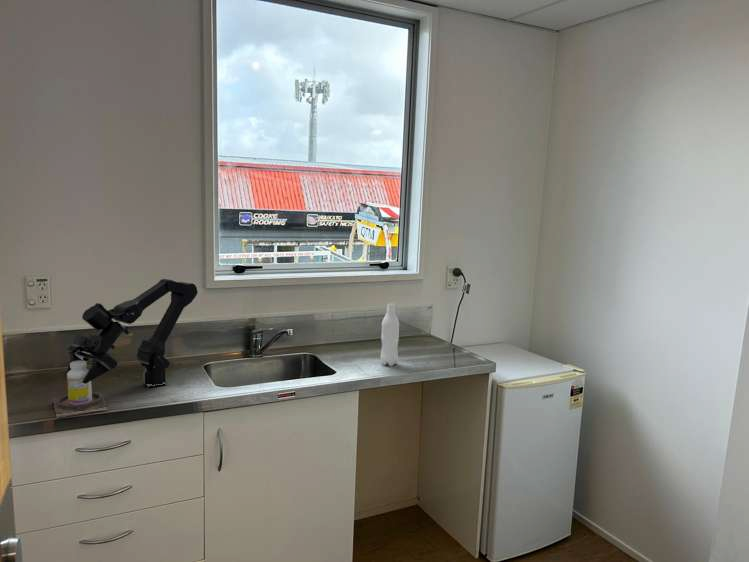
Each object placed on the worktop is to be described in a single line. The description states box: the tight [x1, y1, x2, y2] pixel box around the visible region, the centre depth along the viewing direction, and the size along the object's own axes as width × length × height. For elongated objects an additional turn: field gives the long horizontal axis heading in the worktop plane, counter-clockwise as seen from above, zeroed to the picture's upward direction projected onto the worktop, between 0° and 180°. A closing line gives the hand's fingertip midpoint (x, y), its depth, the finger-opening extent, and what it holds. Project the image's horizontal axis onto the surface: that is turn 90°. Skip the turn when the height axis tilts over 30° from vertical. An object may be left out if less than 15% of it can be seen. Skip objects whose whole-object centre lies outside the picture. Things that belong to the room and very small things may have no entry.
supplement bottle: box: [66, 360, 93, 405], centre depth 181 cm, size 7×7×13 cm
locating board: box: [52, 391, 109, 414], centre depth 182 cm, size 14×14×3 cm
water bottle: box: [380, 302, 400, 367], centre depth 237 cm, size 7×7×25 cm
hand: (75, 380), depth 180 cm, fingers open, 9 cm apart
